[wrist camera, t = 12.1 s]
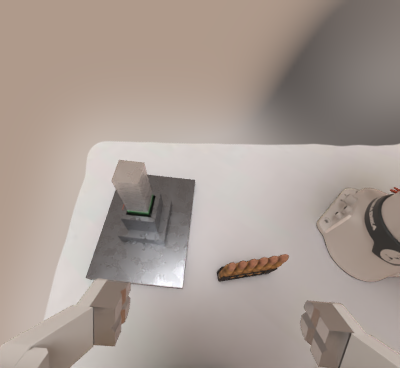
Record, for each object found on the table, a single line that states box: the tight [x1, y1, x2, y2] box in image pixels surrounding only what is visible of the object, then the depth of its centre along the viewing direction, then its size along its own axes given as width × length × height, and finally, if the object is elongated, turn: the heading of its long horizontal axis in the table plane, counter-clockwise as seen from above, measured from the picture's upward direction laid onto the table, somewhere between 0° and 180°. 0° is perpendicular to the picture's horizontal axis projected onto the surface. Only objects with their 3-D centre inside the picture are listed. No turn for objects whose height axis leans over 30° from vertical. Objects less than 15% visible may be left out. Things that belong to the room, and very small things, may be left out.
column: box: [112, 160, 154, 217], centre depth 36 cm, size 4×4×14 cm
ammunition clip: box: [217, 254, 289, 281], centre depth 38 cm, size 11×2×12 cm, turn 99°
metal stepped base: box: [86, 175, 195, 289], centre depth 43 cm, size 24×18×10 cm
